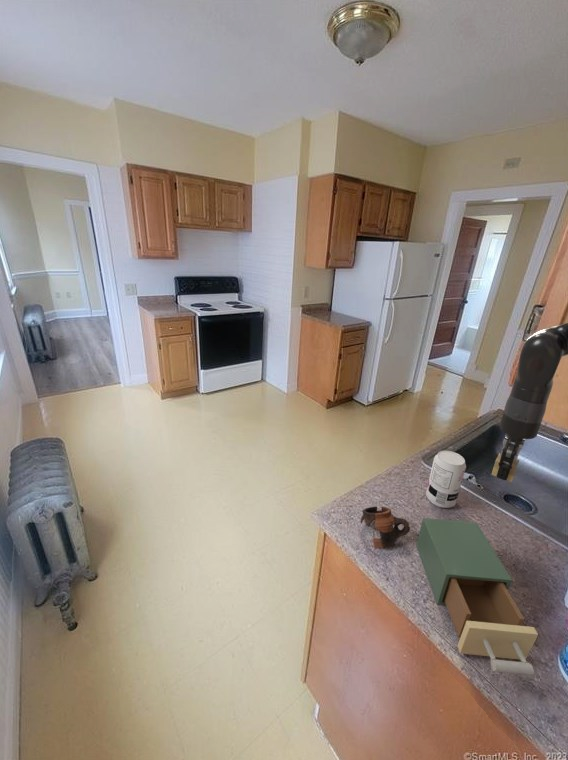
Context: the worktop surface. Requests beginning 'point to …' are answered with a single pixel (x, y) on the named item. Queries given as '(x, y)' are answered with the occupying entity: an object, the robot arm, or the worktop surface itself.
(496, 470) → the block
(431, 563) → the cabinet
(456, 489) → the supplement can
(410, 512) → the worktop surface
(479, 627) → the drawer
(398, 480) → the worktop surface
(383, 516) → the pottery mug
